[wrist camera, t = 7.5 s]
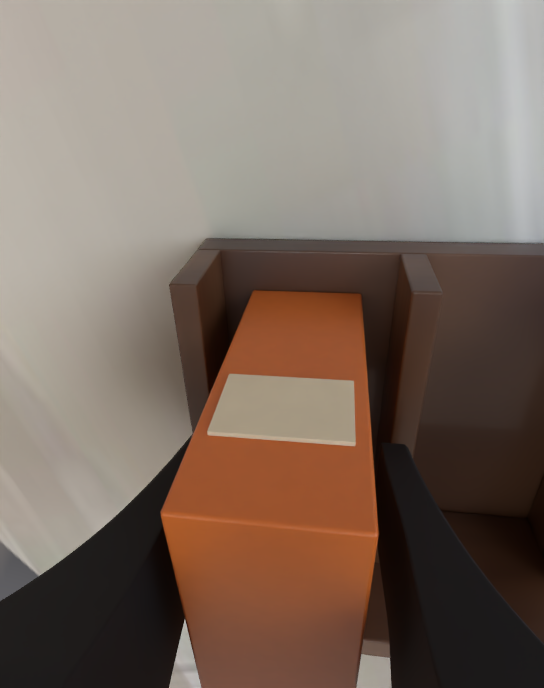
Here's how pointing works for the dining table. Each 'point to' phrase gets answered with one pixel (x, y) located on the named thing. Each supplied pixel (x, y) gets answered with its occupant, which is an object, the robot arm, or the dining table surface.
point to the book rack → (415, 377)
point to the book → (280, 500)
